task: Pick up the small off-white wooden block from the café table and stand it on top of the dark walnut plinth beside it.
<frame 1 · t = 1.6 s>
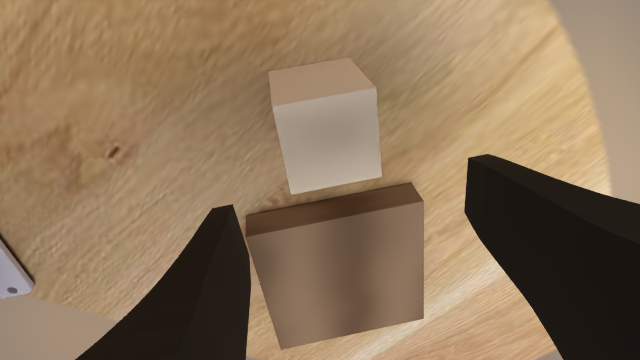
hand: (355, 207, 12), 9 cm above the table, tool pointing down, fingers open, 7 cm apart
walnut plinth: (339, 260, 25), on the table
off-white block: (314, 103, 20), on the table
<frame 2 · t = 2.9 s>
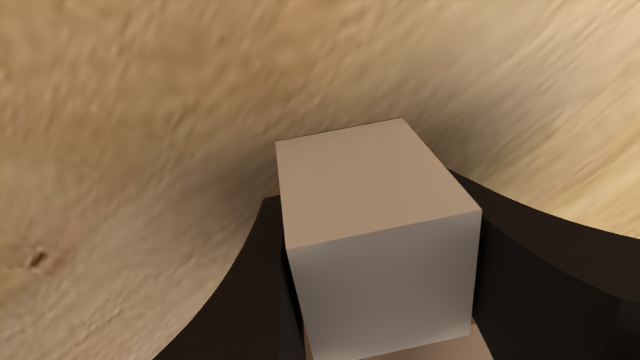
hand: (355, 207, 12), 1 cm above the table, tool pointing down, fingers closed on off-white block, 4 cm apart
off-white block: (345, 183, 13), on the table, touching gripper
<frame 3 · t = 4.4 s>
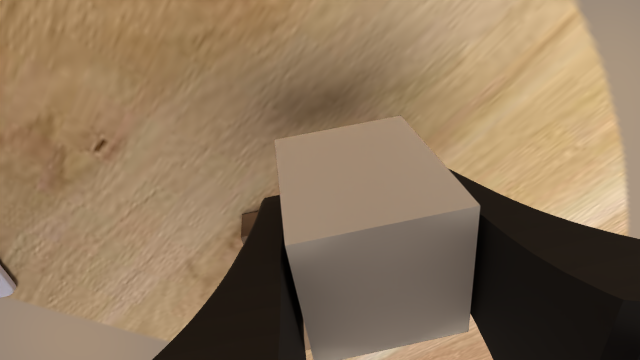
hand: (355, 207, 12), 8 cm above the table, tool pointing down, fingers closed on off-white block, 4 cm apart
walnut plinth: (340, 262, 24), on the table
off-white block: (345, 181, 13), point 7 cm above the table, touching gripper
when the fingers open (4 cm above the table, at t = 6.2 s): off-white block stays where it is, resting on walnut plinth.
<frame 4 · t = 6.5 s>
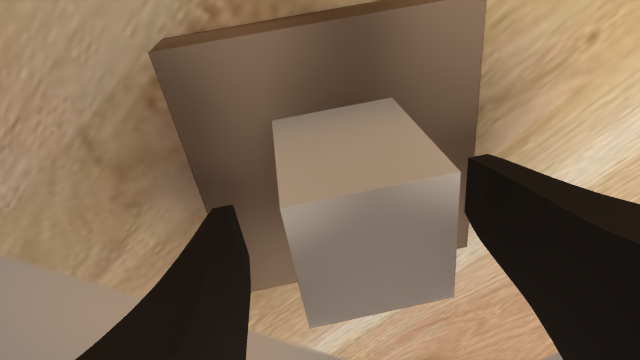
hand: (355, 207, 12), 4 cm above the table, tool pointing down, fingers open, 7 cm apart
walnut plinth: (331, 145, 15), on the table
off-white block: (339, 162, 14), point 2 cm above the table, touching walnut plinth
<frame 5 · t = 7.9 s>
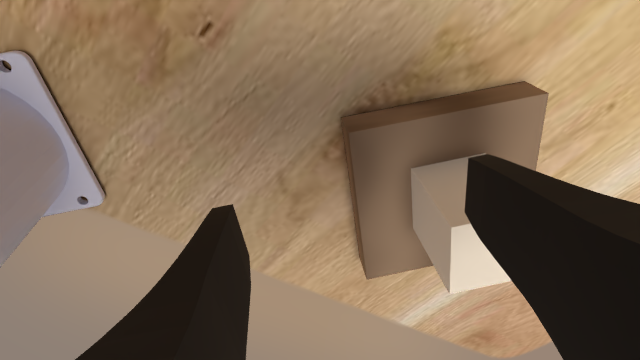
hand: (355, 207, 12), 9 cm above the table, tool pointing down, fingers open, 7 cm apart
walnut plinth: (433, 178, 23), on the table
off-white block: (447, 192, 21), point 2 cm above the table, touching walnut plinth
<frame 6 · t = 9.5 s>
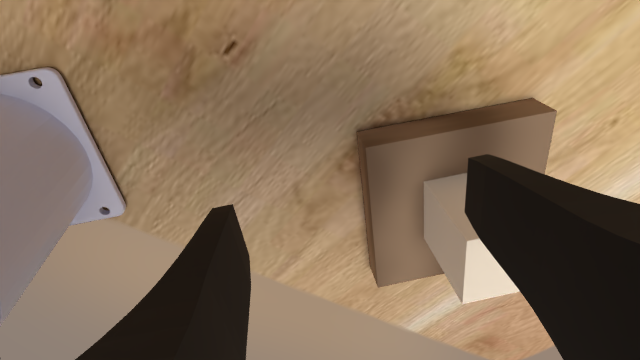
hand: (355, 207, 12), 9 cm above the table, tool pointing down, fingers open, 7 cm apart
walnut plinth: (443, 190, 24), on the table
off-white block: (457, 204, 22), point 2 cm above the table, touching walnut plinth
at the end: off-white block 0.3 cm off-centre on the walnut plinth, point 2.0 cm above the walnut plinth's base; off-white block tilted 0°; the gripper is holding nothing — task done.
